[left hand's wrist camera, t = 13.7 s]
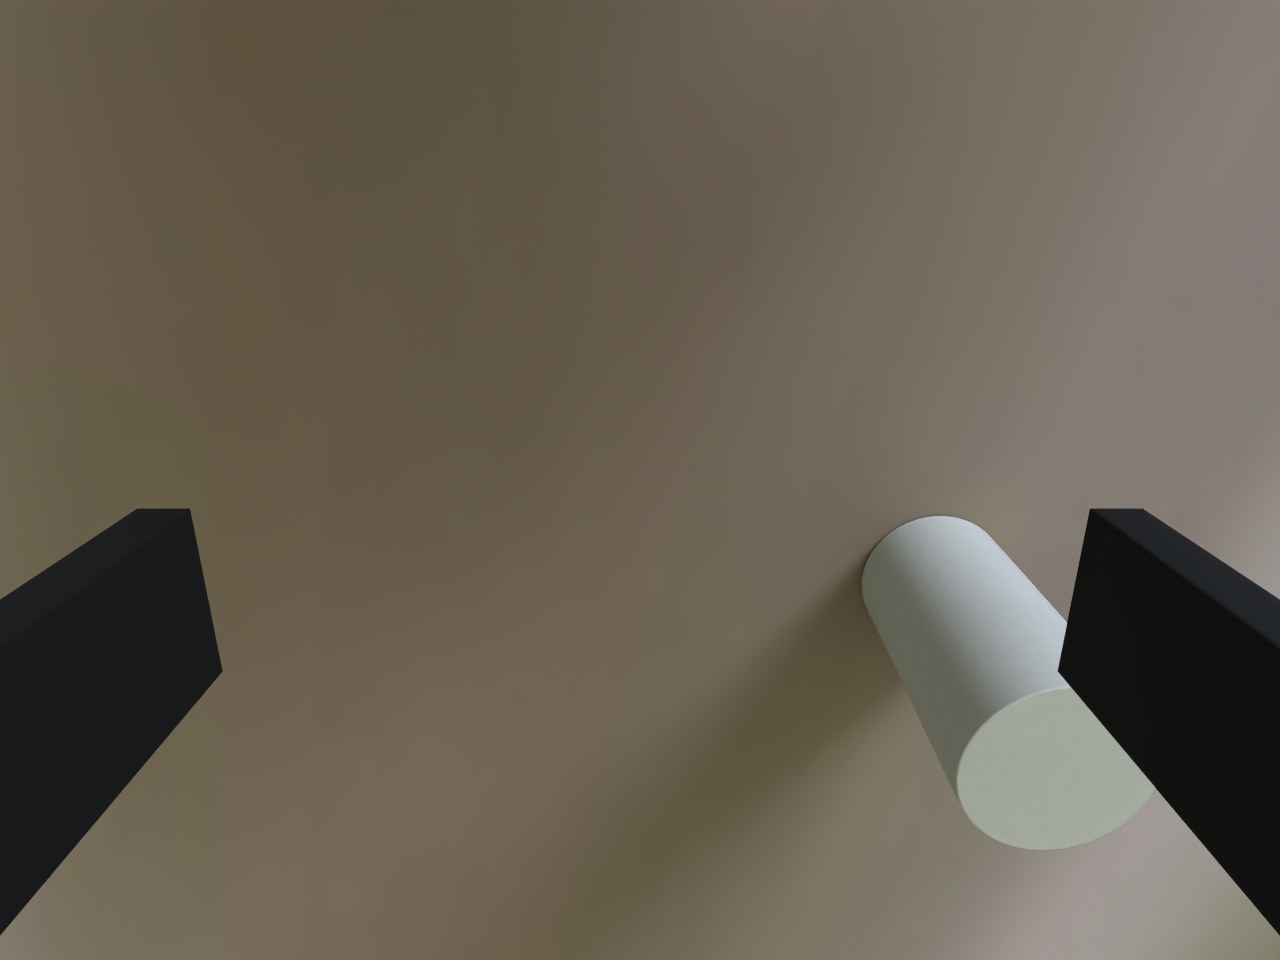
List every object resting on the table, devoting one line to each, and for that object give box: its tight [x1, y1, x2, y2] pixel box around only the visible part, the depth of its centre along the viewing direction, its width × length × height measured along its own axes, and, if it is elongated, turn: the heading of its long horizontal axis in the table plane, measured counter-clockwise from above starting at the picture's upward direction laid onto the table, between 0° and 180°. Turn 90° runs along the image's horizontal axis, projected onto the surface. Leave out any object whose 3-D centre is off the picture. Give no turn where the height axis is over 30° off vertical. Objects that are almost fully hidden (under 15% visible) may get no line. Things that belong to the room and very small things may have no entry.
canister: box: [862, 516, 1155, 850], centre depth 31 cm, size 6×6×12 cm
